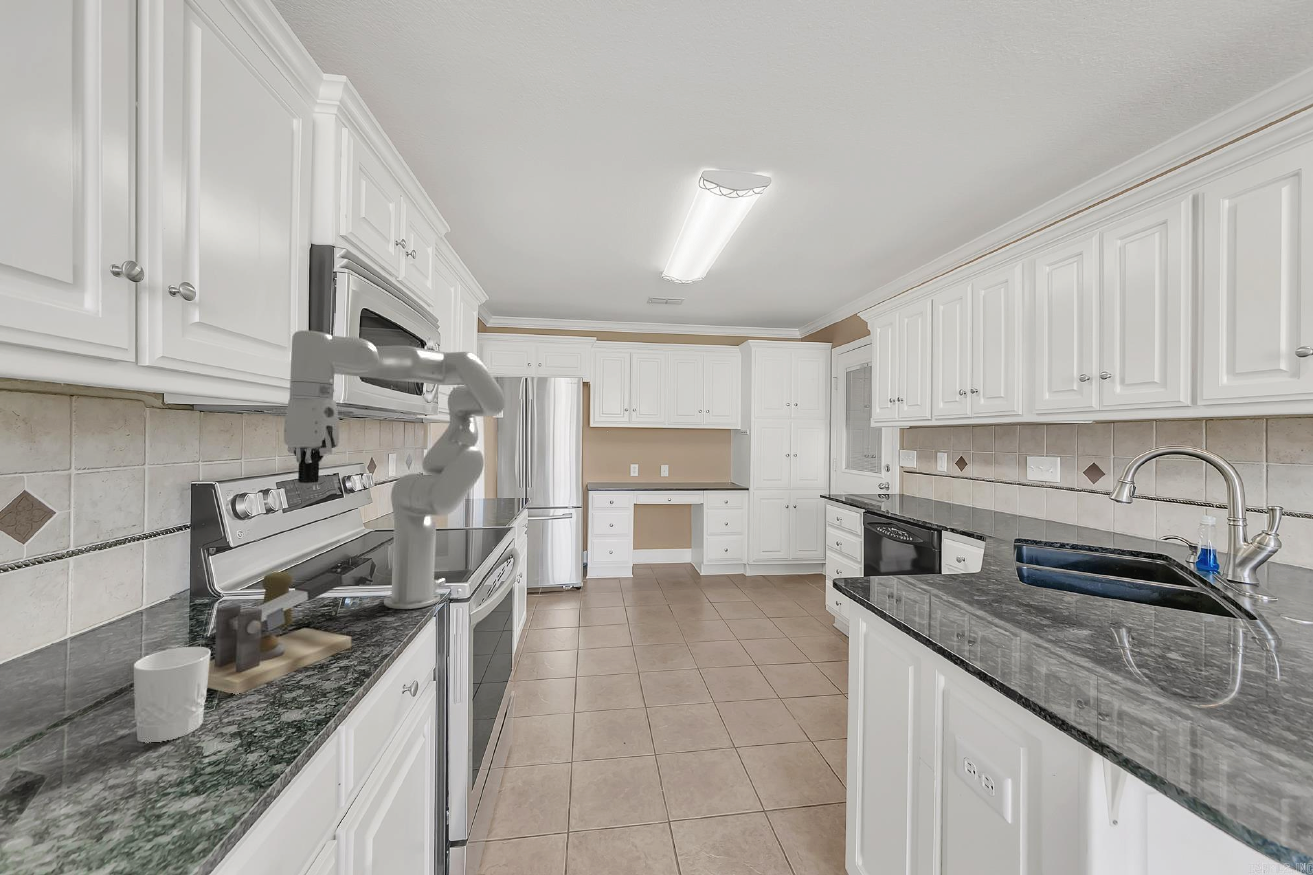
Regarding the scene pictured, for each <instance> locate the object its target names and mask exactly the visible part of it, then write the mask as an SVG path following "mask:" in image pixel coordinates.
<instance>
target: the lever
mask: <svg viewBox="0 0 1313 875" xmlns="http://www.w3.org/2000/svg"><path fill="white" fill-rule="evenodd" d="M343 584H344V583H343V575H342V574H340V573H339V574H338V573H332V572H326V573H324V574H322V575H319V576H317V577H316V578H313V579H311V580H308V581H306V582H305V583H302V584H299V585H298V586H296V587H294V589H293V590H291V591H289V593H287V594H284V595H282V596H280V597H278V598H276V599H274V600H271V601H269V602H267V603H265V604H263V603H262V604H261V605H258V606H256V607H254V608H253V609H255V608H259V609H262V620H261V631H265V632H270V631H272V630H275V629H274V628H276V627H278V626H280V625H282V624H284V623H285V618H284V611H285V610H287V609H289V608H291V609H292V608H293V607H295V606H297V605H299V604H301V603H303V602H305V601H307V600H308V601H311V600H313V599H315V598H317V597H320V596H322V595H323V594H326V593H327V592H330V591H332V590H333V589H335V588H338V587H340V586H342V585H343ZM229 625H230V628H231V629H235V630H237V628H238V616H237V617H234V618H232V619H230V620H229Z"/></svg>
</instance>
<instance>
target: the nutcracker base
mask: <svg viewBox="0 0 1313 875" xmlns="http://www.w3.org/2000/svg"><path fill="white" fill-rule="evenodd" d="M254 608H255V609H254ZM254 608H252V609H249V610H245V611H242V612H241V610H242V605H241V604H237V603H235V604H231V605H229V606H224V607H219V608H216V618H215V619H216V621H215V622H216V623H215V640H214V641H215V646H214V659H212V660H211V659H210V665H209V675H208V686H207V689H212V690H216V691H218V692H219V691H220V692H224V693H228V694H231V693H233V694H232V695H234V694H235V696H238V695H240V694H239V693H241V694H242V693H245V692H248V691H249V690H251V689H252V690H253V689H255V688H257V687H259V686H262V685H264V684H266V683H270V682H271V681H274V680H276V679H278V678H280V677H283V676H285V675H288V674H290V673H293V672H295V671H297V670H300V669H302V668H304V667H307V666H309V665H312V664H315V663H317V662H319V661H321V660H324V659H326V658H328V657H331V656H334V655H335V654H338V653H340V652H343V651H345V650H347V649H350V648H351V647H352V636H348V635H344V634H338V633H334V632H329V631H324V630H319V629H318V630H317V629H314V628H313V629H312V628H307V627H304V628H301V629H297V630H295V631H293V632H292V631H291V632H289V633H286V634H283V635H281V636H276V635H274V634H272V633H271V634H265V635H263V636H262V630H261V620H262V609H259V608H256V607H254ZM237 616H238V628H237V630H235V629H231V628H230V625H229V620H230V619H232V618H234V617H237ZM237 694H238V695H237Z"/></svg>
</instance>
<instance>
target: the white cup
mask: <svg viewBox="0 0 1313 875" xmlns="http://www.w3.org/2000/svg"><path fill="white" fill-rule="evenodd" d="M211 653H212V651H211V649H209V648H208V647H203V646H185V647H177V648H173V649H172V648H170V649H165V650H162V651H158V652H154V653H151V654H149V655H146V656H144V657H142V658H140V659H138V660H137V661H135V662H134V664H133V700H134V719H135V721H136V739H137V742H141V743H143V742H145V743H144V744H152V743H151V742H160V743H163V742H162V741H165V742H168V741H167V740H169V741H173V739H174V740H177V739H179V738H181V737H184V736H187V735H189V734H191V733H192V732H195V731H196V730H198V728H200V726H201V725H202V724H203V721H204V712H205V711H204V710H205V703H206V700H207V690H208V687H207V686H208V675H209V665H210V661H211ZM178 737H179V738H178ZM149 742H150V743H149Z"/></svg>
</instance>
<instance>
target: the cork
mask: <svg viewBox="0 0 1313 875" xmlns="http://www.w3.org/2000/svg"><path fill="white" fill-rule="evenodd" d="M292 583H293V575H292V574H291V573H289V572H287V571H276V572H271V573H268V574H266V575H264V577H263V579H262V588H263V589H264V590H265V591H264V596H263V602H262V605H263V604H265V603H267V602H269V601H271V600H274V599H276V598H278V597H280V596H282V595H284V594H287V593H289V592H290V586H291V585H292ZM284 618H285V623H284V624H282V625H280V626H278V627H276V628H274V629H273V630H276V629H277V628H278V629H281V628H280V627H283V628H286V627H289V626H291V625H292V624H293V622H294V621H293V613H292V607H291V608H289V609H287V610H285V611H284ZM291 623H292V624H291ZM290 624H291V625H290ZM288 625H289V626H288ZM285 626H286V627H285ZM278 629H277V630H278Z"/></svg>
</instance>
